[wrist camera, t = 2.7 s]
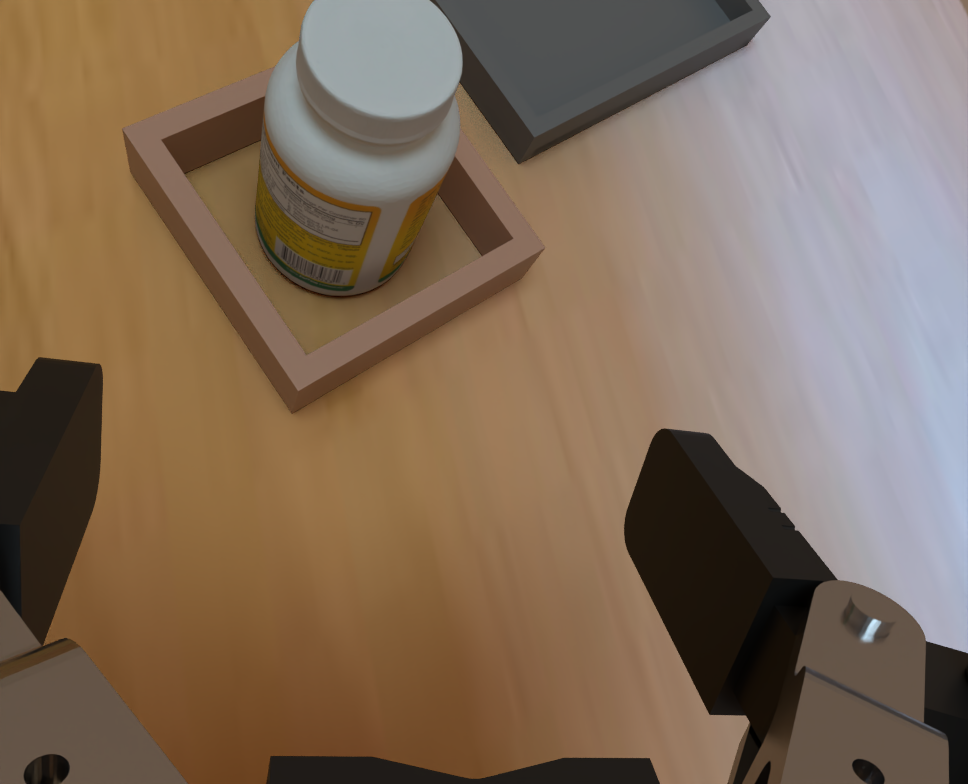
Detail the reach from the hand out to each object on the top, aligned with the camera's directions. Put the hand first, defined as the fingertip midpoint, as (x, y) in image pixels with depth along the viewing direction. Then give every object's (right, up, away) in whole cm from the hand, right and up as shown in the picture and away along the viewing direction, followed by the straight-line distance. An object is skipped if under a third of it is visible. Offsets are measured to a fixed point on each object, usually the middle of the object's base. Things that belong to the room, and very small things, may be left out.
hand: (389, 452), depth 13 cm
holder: (-4, +7, +17) cm, 19 cm away
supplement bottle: (-4, +7, +17) cm, 19 cm away
